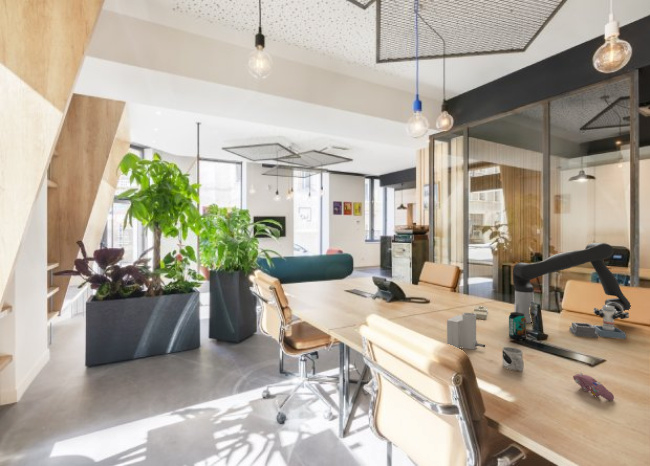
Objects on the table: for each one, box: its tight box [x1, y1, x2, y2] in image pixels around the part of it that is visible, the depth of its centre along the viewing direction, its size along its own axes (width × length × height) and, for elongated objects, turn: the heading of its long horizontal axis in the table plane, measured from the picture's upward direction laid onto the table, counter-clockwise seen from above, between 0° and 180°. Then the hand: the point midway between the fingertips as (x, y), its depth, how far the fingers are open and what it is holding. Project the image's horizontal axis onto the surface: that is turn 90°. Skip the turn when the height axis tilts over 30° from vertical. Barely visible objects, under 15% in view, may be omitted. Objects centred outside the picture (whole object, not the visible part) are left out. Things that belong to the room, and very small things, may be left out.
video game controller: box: [572, 372, 615, 401], centre depth 102 cm, size 10×5×7 cm, turn 6°
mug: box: [502, 346, 525, 372], centre depth 121 cm, size 10×7×7 cm
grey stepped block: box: [446, 312, 486, 350], centre depth 144 cm, size 12×14×15 cm
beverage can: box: [508, 311, 527, 341], centre depth 154 cm, size 7×7×12 cm
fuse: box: [602, 304, 616, 332], centre depth 157 cm, size 4×4×12 cm
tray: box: [592, 325, 627, 340], centre depth 157 cm, size 10×10×3 cm
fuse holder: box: [569, 321, 599, 339], centre depth 159 cm, size 9×9×4 cm
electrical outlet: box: [473, 305, 489, 320], centre depth 196 cm, size 7×4×18 cm
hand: (607, 316), depth 156 cm, fingers closed on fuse, 4 cm apart
